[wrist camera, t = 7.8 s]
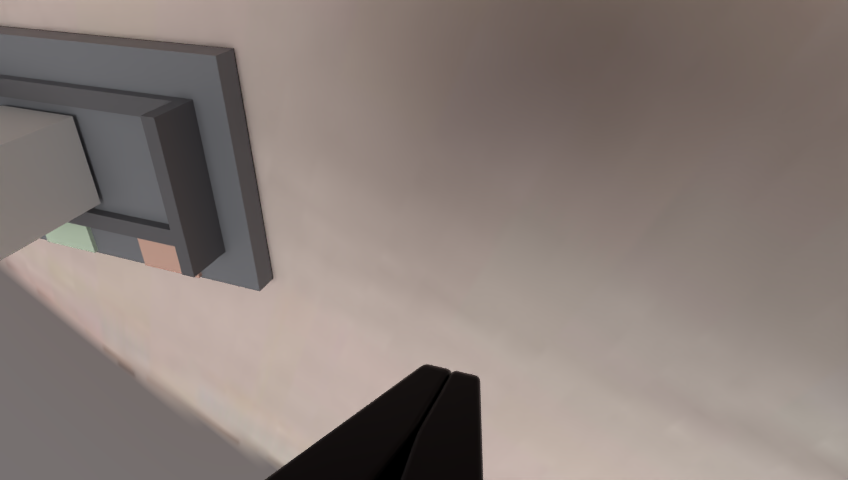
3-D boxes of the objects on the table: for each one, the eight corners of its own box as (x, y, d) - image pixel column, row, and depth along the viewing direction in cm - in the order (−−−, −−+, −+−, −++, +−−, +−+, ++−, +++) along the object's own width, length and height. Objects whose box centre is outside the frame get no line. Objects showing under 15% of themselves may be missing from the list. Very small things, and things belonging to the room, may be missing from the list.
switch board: (233, 48, 22) (176, 71, 20) (272, 278, 27) (231, 318, 25) (-41, 22, 26) (-114, 38, 24) (39, 224, 32) (-15, 254, 29)
